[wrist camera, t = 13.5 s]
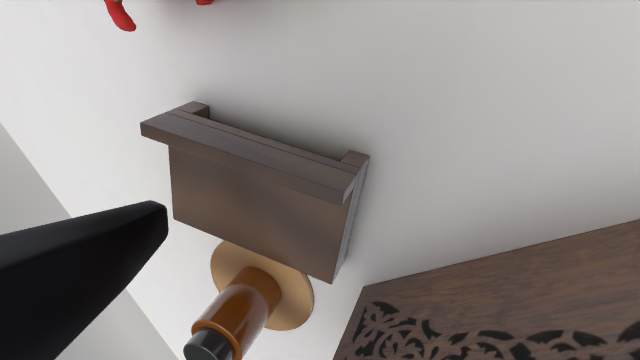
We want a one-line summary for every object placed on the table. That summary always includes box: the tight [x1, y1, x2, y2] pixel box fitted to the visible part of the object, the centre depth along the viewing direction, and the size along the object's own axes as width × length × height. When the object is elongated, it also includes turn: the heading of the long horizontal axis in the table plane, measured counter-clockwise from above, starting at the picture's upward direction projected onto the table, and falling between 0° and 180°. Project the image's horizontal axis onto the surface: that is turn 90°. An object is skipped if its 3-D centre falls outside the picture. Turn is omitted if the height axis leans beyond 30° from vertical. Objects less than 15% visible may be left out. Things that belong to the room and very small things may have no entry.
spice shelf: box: [140, 101, 369, 284], centre depth 23 cm, size 8×12×4 cm, turn 81°
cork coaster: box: [210, 241, 314, 331], centre depth 30 cm, size 9×9×1 cm
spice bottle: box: [183, 267, 282, 360], centre depth 26 cm, size 4×4×7 cm
